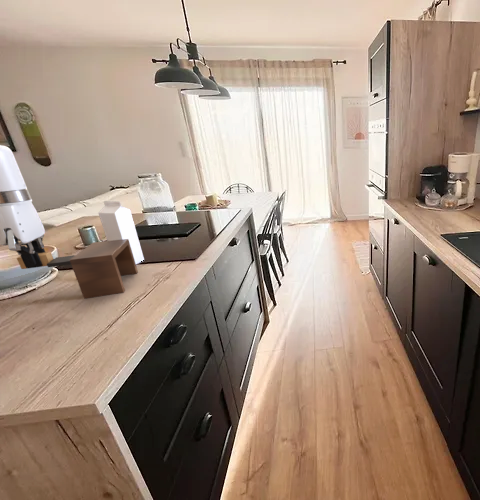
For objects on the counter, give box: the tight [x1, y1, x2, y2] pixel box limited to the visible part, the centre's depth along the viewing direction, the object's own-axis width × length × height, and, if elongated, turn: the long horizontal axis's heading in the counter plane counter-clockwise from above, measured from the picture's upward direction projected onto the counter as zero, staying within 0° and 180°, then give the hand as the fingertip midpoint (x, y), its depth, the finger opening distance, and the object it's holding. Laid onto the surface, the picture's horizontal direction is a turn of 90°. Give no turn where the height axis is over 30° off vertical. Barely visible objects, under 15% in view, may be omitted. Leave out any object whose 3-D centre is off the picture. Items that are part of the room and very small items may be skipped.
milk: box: [98, 200, 145, 265], centre depth 97 cm, size 6×6×22 cm
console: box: [70, 239, 139, 300], centre depth 84 cm, size 9×15×12 cm, turn 22°
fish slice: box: [16, 251, 76, 270], centre depth 78 cm, size 12×5×3 cm, turn 112°
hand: (38, 264), depth 78 cm, fingers closed on fish slice, 2 cm apart
